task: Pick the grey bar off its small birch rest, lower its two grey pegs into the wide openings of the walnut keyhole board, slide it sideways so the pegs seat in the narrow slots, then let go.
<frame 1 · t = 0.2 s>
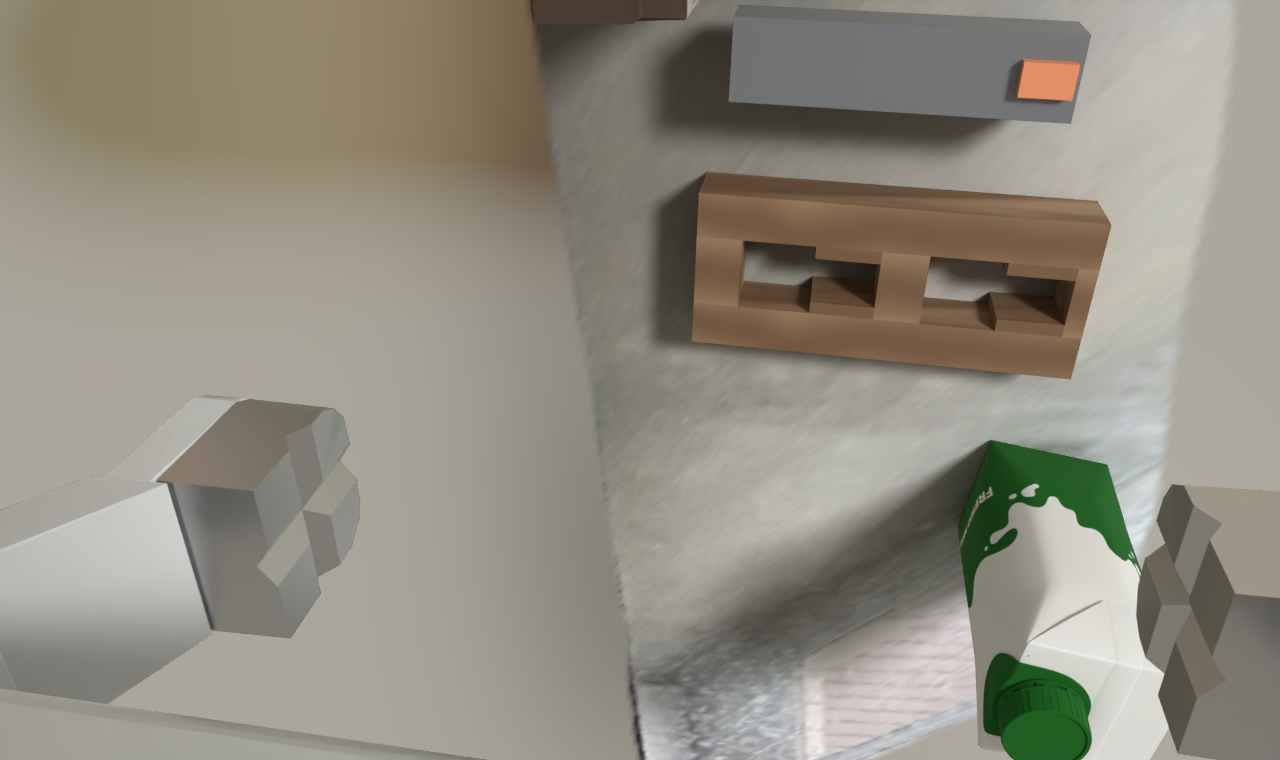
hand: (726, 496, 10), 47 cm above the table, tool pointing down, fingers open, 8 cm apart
keyhole board: (885, 261, 58), on the table
grey bar: (897, 46, 52), on the table, touching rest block
milk carton: (1030, 494, 64), on the table
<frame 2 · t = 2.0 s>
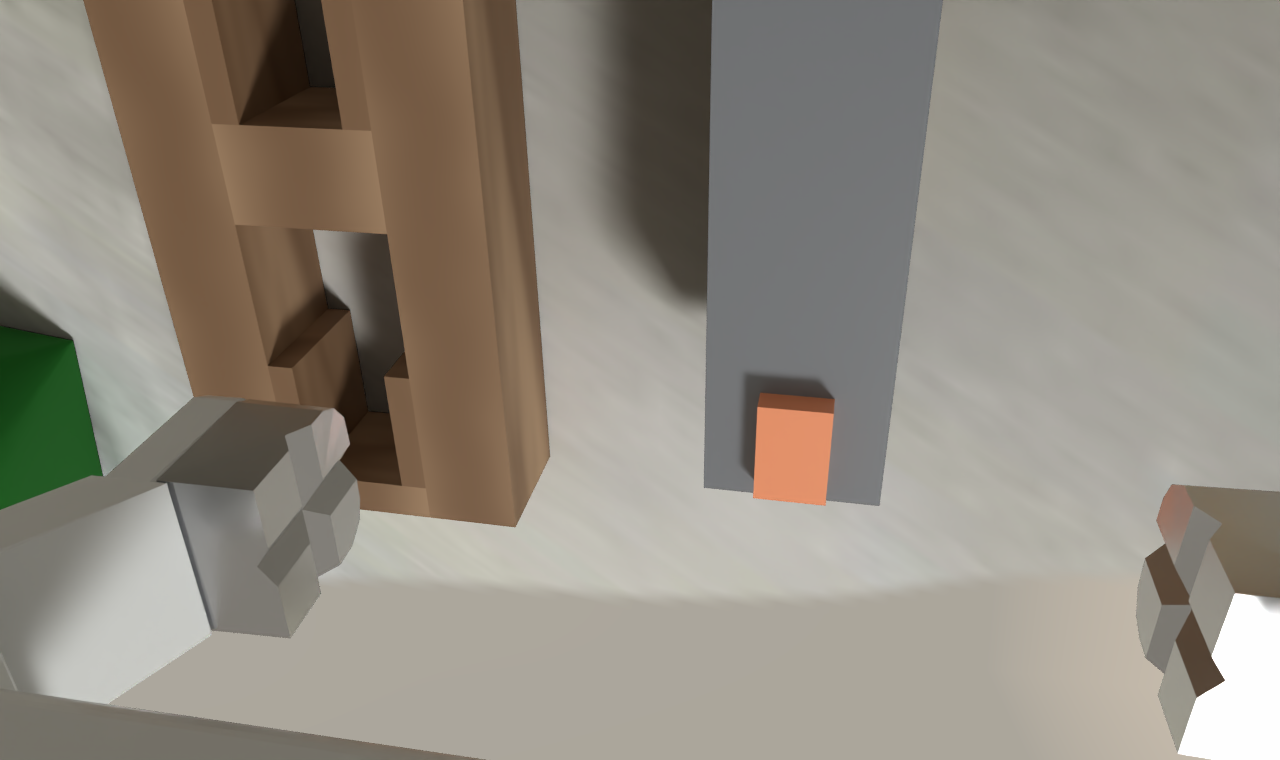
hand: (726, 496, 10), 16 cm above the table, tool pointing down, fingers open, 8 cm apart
keyhole board: (359, 107, 27), on the table
grey bar: (826, 87, 24), on the table, touching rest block
milk carton: (6, 409, 35), on the table
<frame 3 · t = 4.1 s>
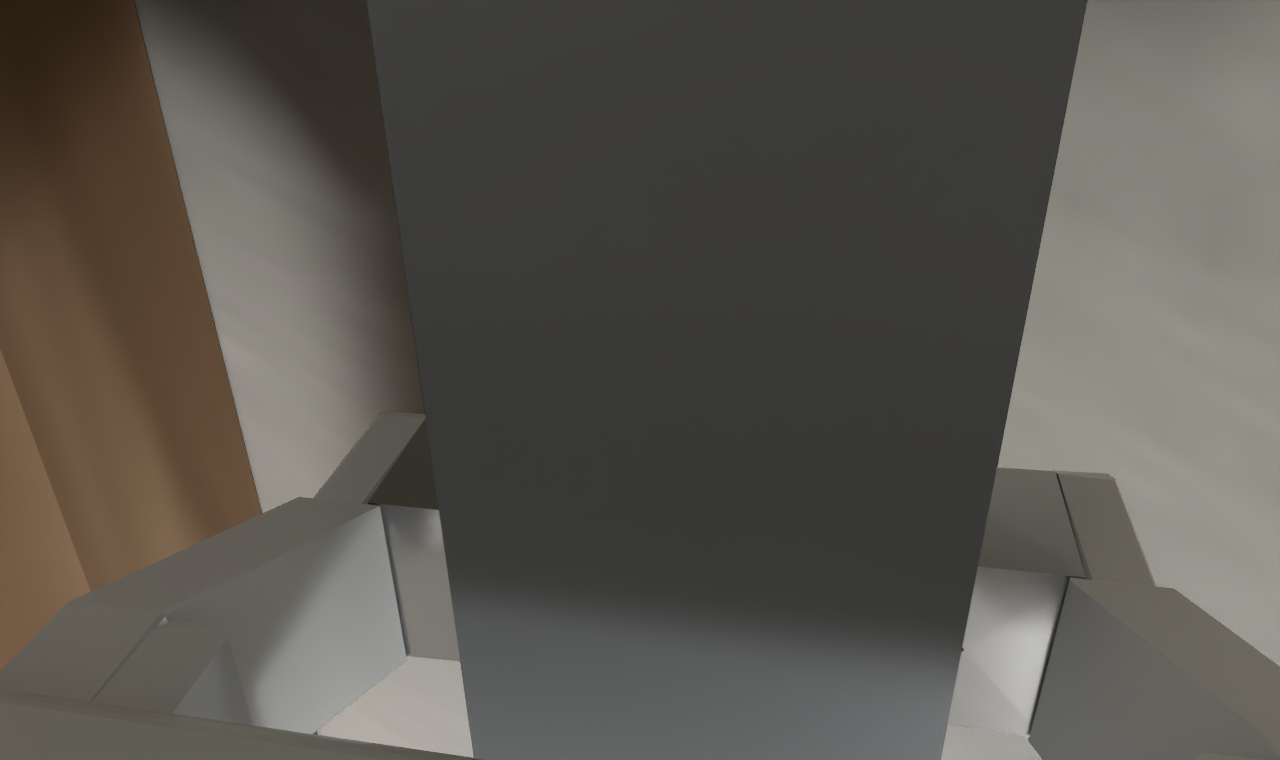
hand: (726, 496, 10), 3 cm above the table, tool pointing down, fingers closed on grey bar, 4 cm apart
grey bar: (751, 362, 13), on the table, touching gripper, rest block
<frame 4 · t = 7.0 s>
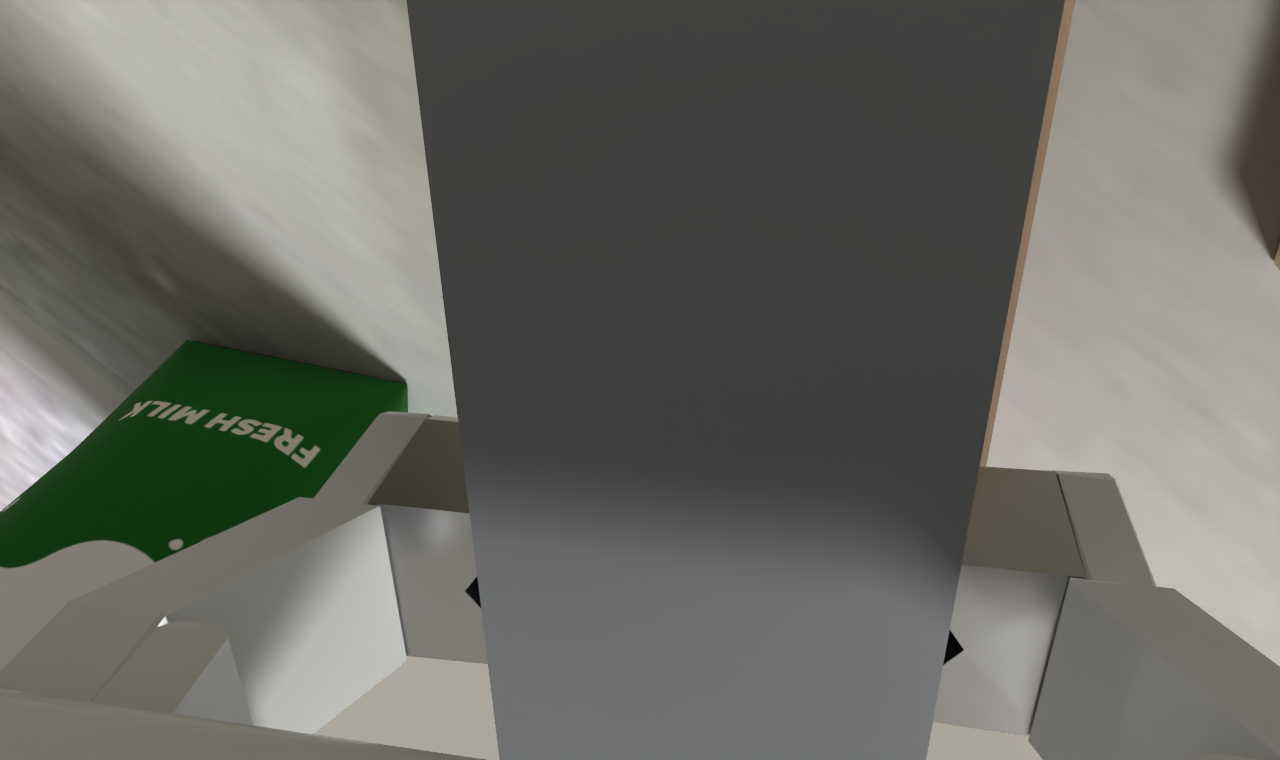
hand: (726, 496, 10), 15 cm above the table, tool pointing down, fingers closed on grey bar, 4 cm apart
keyhole board: (814, 133, 24), on the table
grey bar: (755, 352, 13), point 12 cm above the table, touching gripper
milk carton: (307, 455, 32), on the table
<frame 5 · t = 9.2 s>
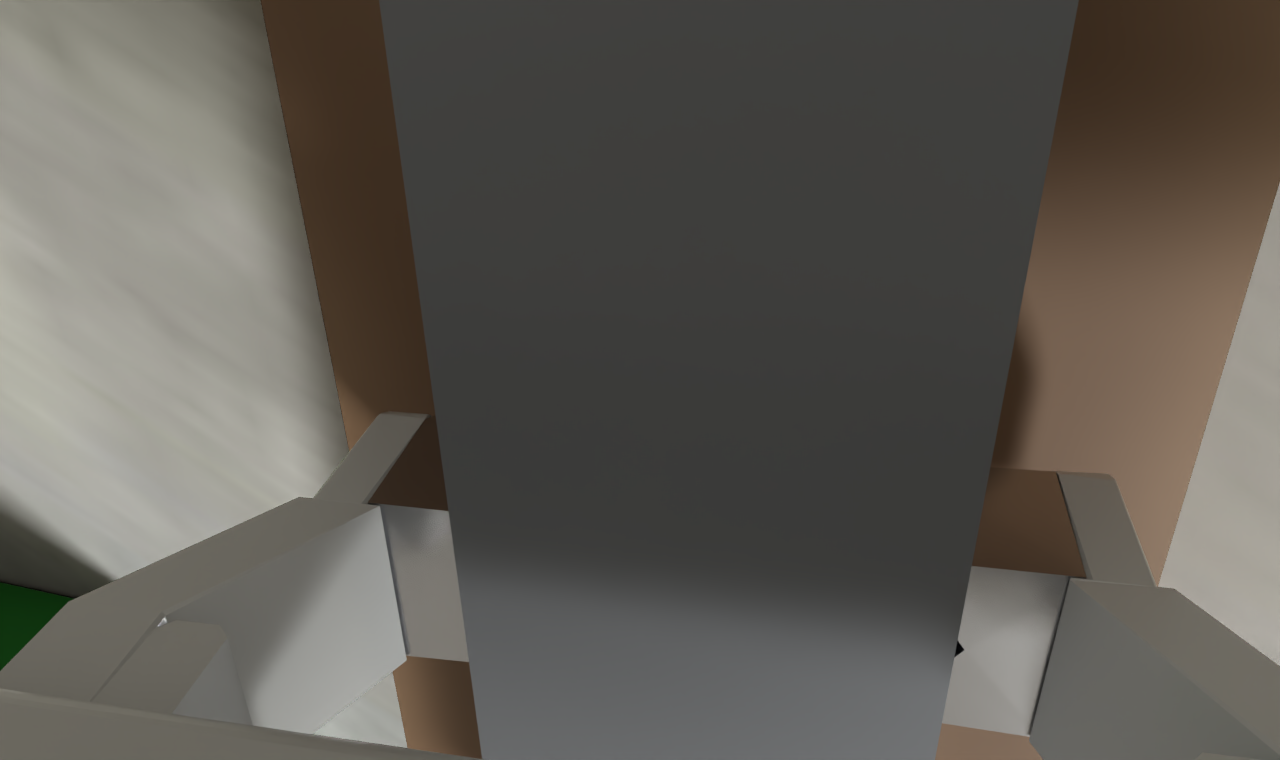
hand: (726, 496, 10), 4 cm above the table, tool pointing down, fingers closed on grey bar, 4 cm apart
keyhole board: (763, 263, 14), on the table
grey bar: (755, 328, 13), point 1 cm above the table, touching gripper, keyhole board
milk carton: (39, 698, 22), on the table
when the fingers open (4 cm above the table, at t = 10.7 s): grey bar stays where it is, resting on keyhole board.
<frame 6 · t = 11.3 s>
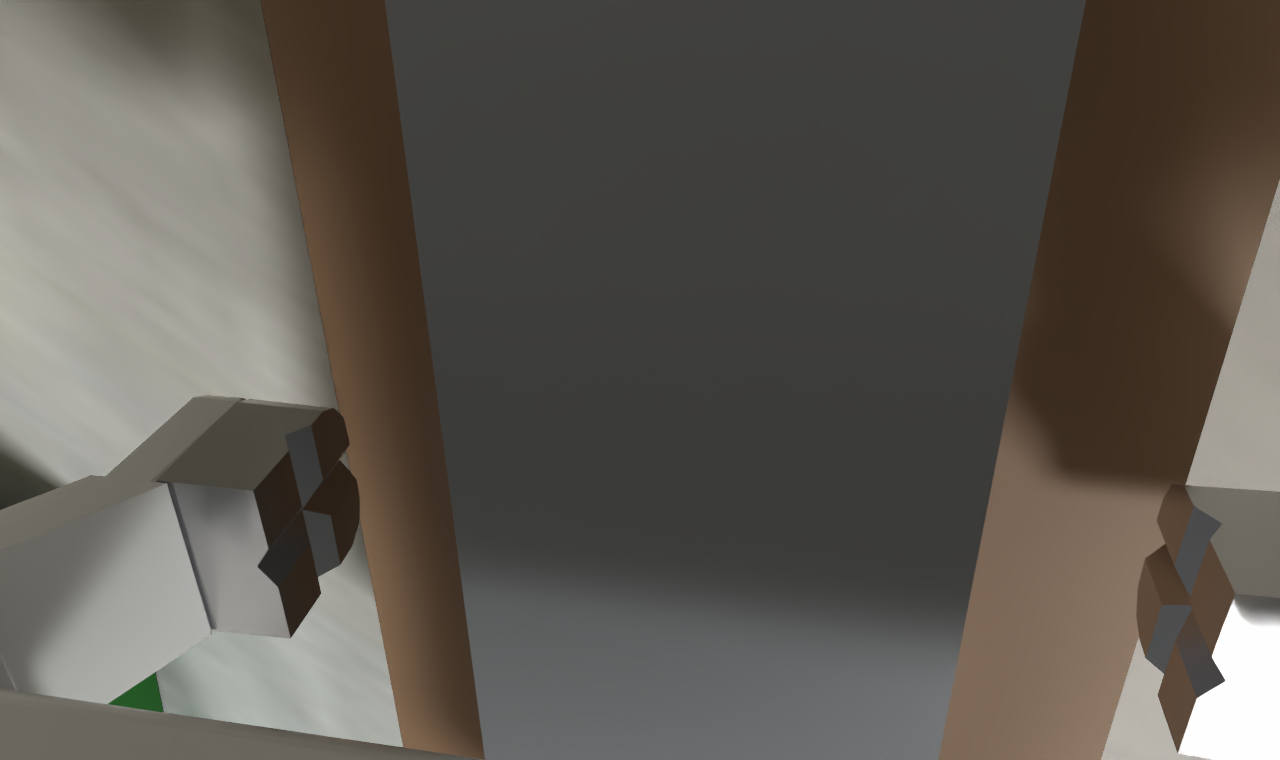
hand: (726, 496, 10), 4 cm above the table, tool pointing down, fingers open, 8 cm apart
keyhole board: (768, 131, 13), on the table
grey bar: (758, 293, 12), point 1 cm above the table, touching keyhole board
milk carton: (6, 632, 21), on the table
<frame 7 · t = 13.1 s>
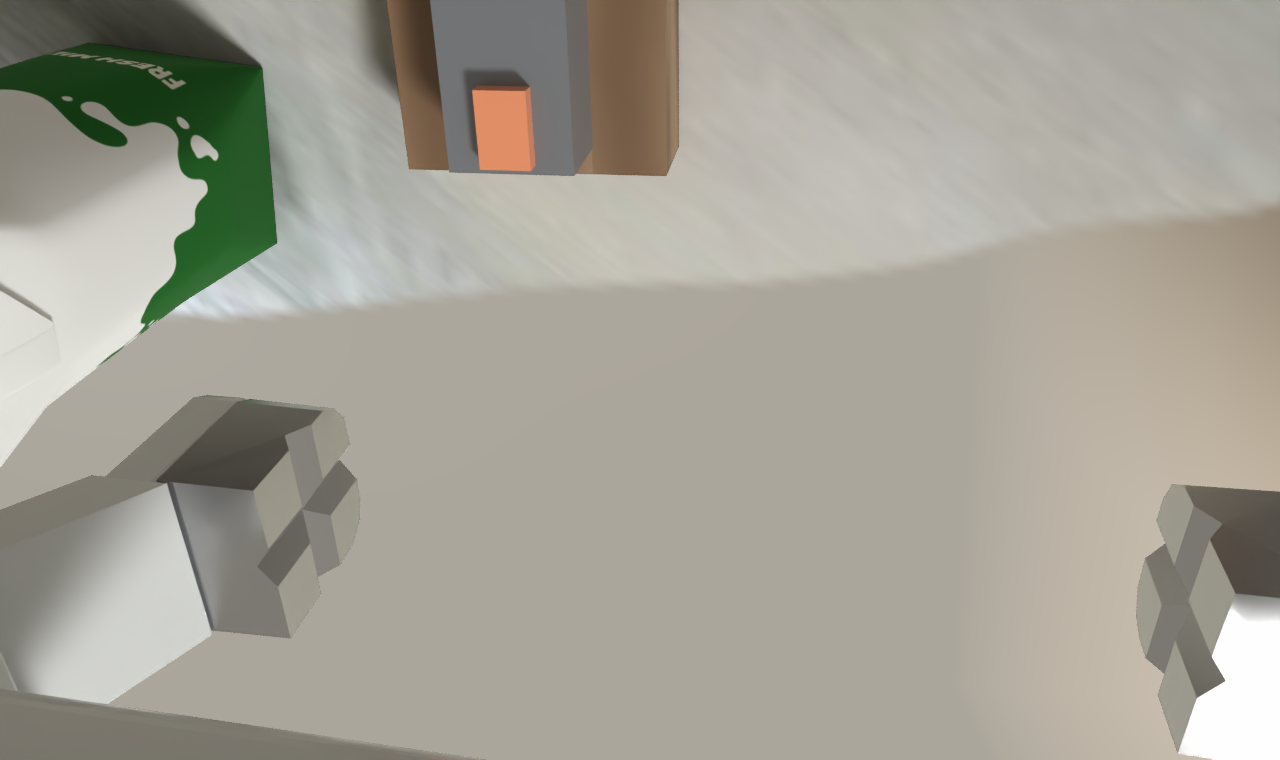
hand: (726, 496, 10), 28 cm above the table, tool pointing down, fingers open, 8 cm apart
milk carton: (189, 146, 40), on the table
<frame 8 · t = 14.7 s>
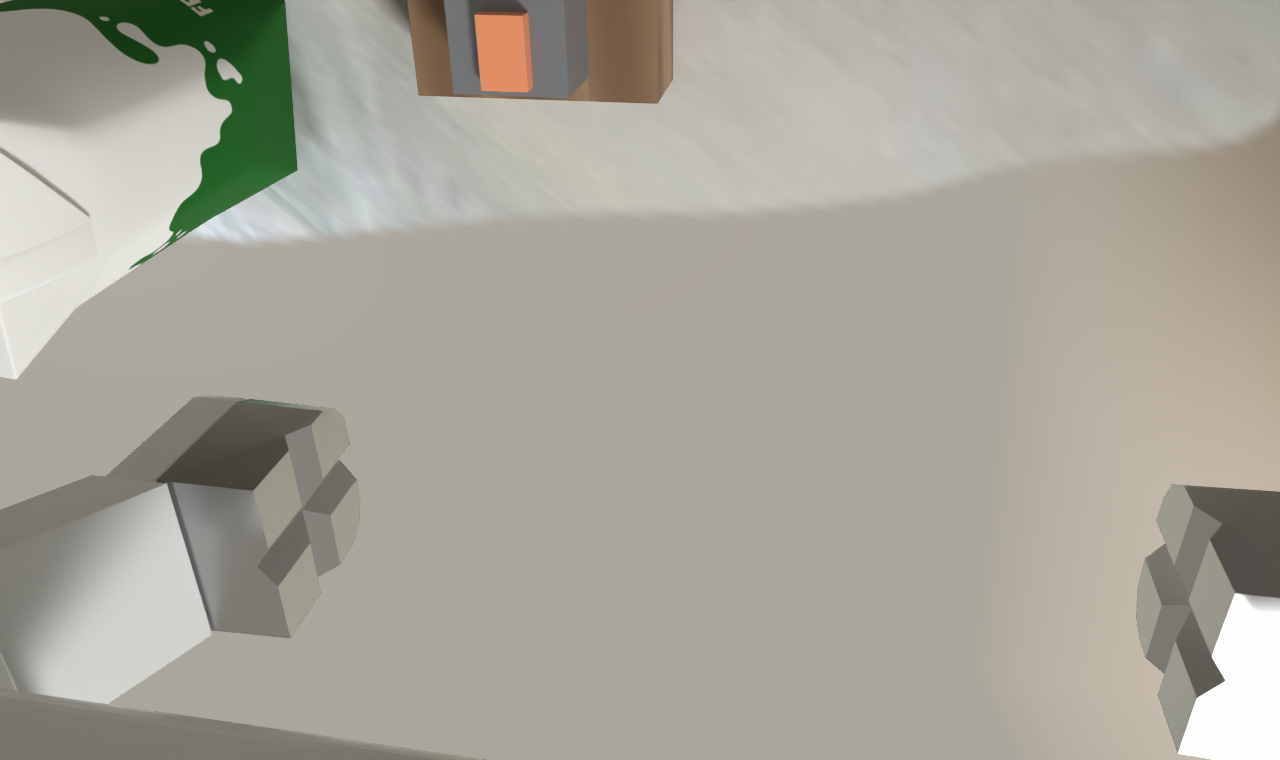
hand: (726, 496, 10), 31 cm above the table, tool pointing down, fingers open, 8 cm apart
milk carton: (217, 76, 43), on the table
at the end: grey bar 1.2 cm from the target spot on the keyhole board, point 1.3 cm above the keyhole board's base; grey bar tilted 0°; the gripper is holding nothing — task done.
